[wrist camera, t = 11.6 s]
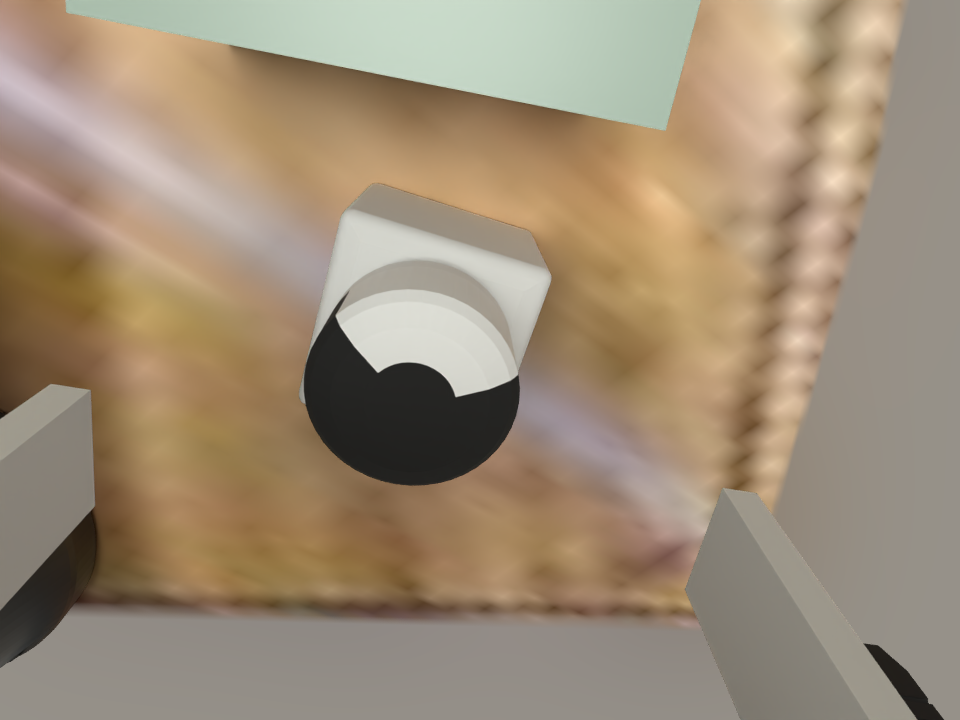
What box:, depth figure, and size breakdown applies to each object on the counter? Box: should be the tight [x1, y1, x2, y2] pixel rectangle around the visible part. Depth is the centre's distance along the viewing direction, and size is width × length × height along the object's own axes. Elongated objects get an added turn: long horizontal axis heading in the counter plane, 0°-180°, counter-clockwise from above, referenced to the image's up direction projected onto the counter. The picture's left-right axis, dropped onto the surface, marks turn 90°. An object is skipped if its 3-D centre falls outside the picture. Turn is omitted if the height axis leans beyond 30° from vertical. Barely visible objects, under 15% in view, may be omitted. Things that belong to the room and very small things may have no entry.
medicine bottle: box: [299, 183, 552, 485], centre depth 24 cm, size 7×7×12 cm
